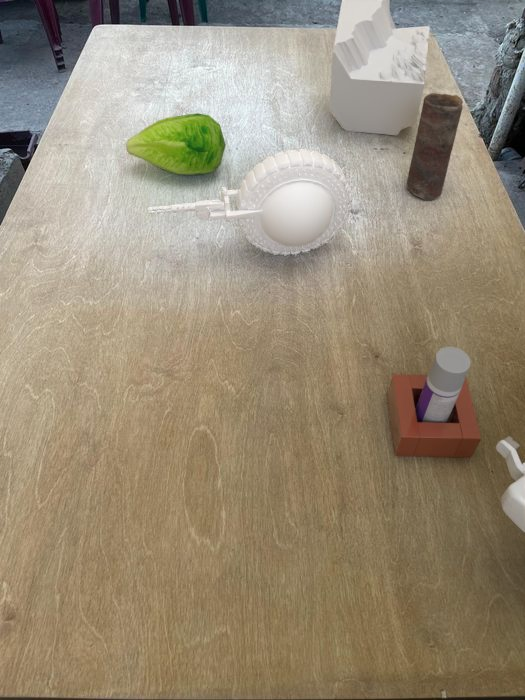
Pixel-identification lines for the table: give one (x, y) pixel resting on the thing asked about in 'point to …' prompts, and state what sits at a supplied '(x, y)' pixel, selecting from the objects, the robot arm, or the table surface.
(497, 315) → the table surface
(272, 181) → the tracked sphere vehicle
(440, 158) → the rusty brown cylinder
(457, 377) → the container
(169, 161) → the lettuce
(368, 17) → the white carved sculpture block
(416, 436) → the holder
